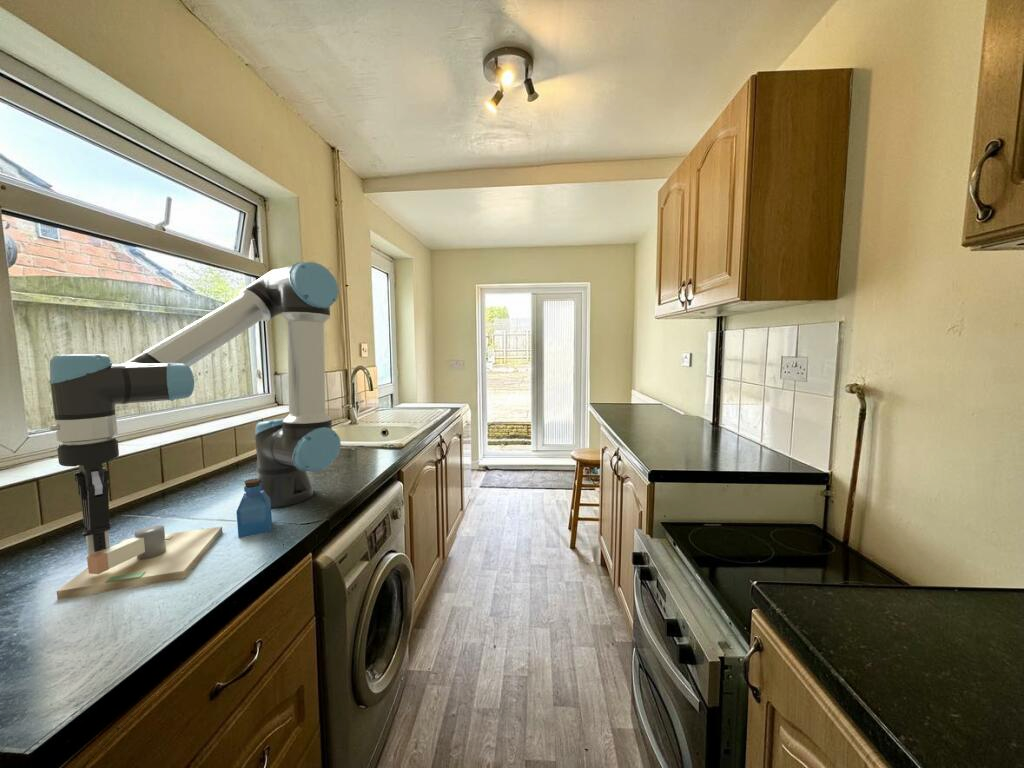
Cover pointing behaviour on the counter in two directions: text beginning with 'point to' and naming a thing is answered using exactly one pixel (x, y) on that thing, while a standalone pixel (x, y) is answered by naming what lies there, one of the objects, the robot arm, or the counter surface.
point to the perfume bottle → (254, 510)
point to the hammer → (130, 549)
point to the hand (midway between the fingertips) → (100, 565)
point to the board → (147, 565)
